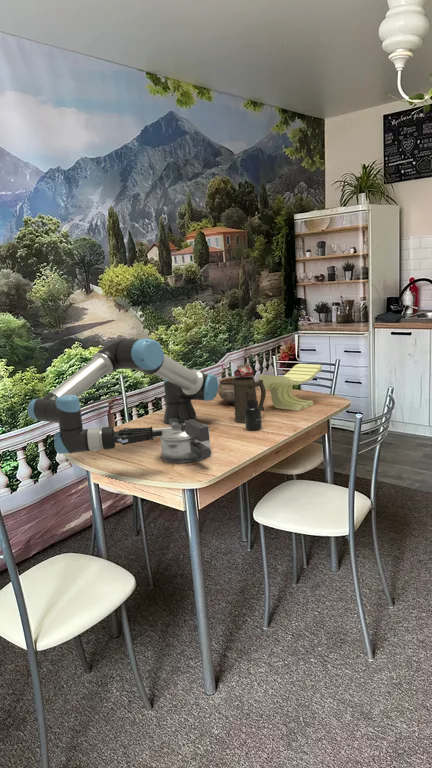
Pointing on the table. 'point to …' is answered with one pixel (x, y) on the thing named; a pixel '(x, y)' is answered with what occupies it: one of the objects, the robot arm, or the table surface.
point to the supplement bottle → (253, 416)
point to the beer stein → (246, 395)
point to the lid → (187, 431)
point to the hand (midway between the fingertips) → (171, 431)
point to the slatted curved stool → (290, 386)
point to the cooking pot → (226, 389)
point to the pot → (185, 451)
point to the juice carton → (243, 371)
